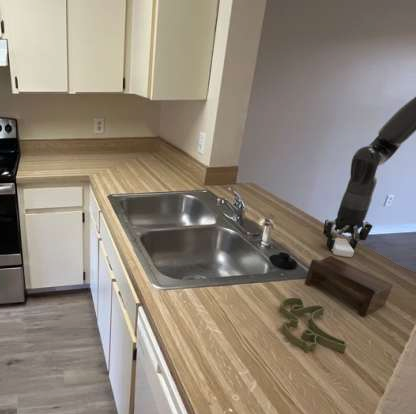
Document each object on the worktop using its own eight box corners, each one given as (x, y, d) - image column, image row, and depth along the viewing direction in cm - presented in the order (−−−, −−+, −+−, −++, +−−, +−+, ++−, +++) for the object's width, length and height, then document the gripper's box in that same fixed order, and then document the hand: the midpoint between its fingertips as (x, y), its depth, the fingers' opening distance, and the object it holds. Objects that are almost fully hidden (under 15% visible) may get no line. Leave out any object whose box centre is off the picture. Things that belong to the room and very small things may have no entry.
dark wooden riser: (324, 275, 103) (332, 251, 100) (384, 305, 90) (395, 279, 87) (304, 284, 99) (311, 259, 96) (364, 317, 86) (375, 290, 82)
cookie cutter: (349, 359, 74) (352, 352, 73) (291, 350, 76) (293, 344, 75) (318, 306, 90) (320, 300, 89) (270, 300, 92) (271, 294, 91)
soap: (352, 258, 112) (355, 250, 111) (333, 255, 114) (336, 248, 112) (344, 245, 120) (346, 238, 118) (326, 243, 121) (329, 236, 120)
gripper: (337, 208, 107) (323, 252, 114) (386, 210, 105) (368, 255, 112) (325, 199, 114) (313, 242, 121) (371, 201, 112) (356, 244, 119)
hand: (339, 248), depth 116 cm, fingers closed on soap, 6 cm apart
